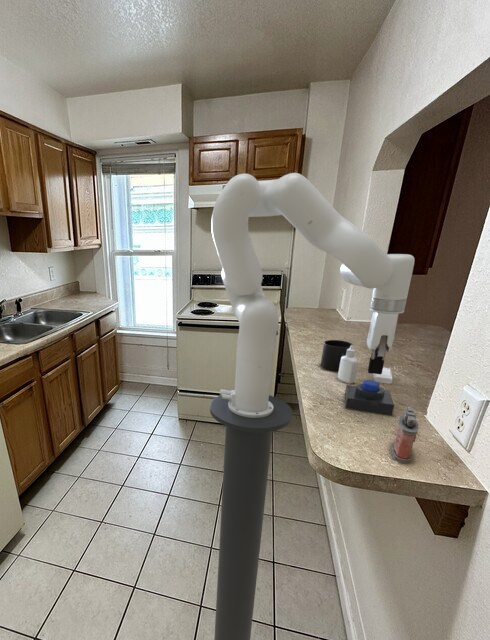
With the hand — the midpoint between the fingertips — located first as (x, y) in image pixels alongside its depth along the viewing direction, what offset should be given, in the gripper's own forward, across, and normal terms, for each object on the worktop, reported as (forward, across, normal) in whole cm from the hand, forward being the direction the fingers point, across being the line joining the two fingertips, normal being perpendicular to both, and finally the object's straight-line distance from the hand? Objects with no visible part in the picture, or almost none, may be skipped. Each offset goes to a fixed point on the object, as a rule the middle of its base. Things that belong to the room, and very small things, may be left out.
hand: (374, 372), depth 96 cm
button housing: (+10, 0, 0) cm, 10 cm away
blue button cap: (+5, 0, 0) cm, 5 cm away
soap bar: (+10, -24, +6) cm, 26 cm away
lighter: (+10, +24, +5) cm, 26 cm away
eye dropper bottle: (+10, -17, -5) cm, 20 cm away
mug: (+10, -28, -8) cm, 31 cm away
